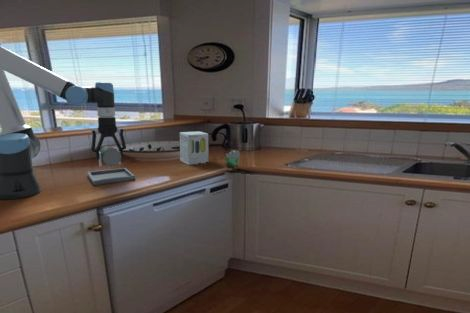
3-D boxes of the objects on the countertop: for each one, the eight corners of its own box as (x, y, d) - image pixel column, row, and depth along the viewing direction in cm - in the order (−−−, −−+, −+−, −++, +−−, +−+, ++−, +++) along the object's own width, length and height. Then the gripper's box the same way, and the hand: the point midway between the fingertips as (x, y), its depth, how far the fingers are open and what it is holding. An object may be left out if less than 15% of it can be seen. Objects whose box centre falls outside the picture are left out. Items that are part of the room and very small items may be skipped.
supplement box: (187, 165, 177) (187, 134, 173) (179, 160, 188) (179, 132, 184) (208, 162, 183) (208, 133, 180) (199, 158, 194) (199, 131, 191)
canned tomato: (118, 146, 141) (113, 143, 150) (100, 152, 138) (96, 148, 147) (123, 162, 144) (118, 158, 153) (106, 168, 140) (101, 163, 149)
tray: (135, 179, 146) (134, 175, 145) (93, 185, 136) (93, 181, 136) (125, 171, 161) (125, 167, 160) (87, 175, 151) (87, 172, 151)
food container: (237, 172, 161) (237, 154, 159) (225, 172, 163) (225, 153, 161) (241, 167, 173) (241, 149, 171) (230, 166, 174) (231, 149, 172)
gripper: (83, 118, 134) (87, 169, 138) (131, 116, 145) (134, 164, 149) (80, 116, 140) (85, 165, 145) (127, 115, 151) (130, 161, 156)
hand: (110, 164), depth 147 cm, fingers closed on canned tomato, 8 cm apart
